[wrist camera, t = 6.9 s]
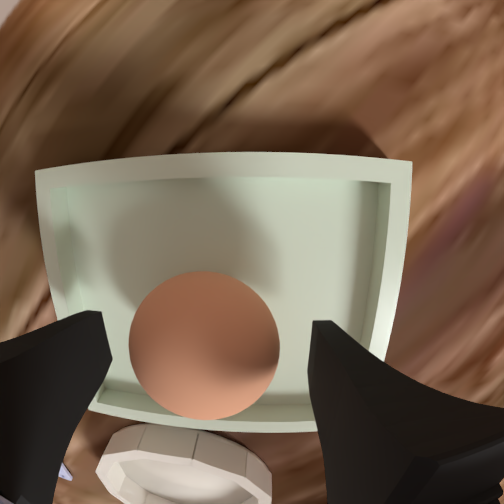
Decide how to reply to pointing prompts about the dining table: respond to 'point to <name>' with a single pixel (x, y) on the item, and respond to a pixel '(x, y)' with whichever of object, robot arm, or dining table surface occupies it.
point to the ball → (204, 345)
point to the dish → (181, 468)
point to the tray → (229, 256)
